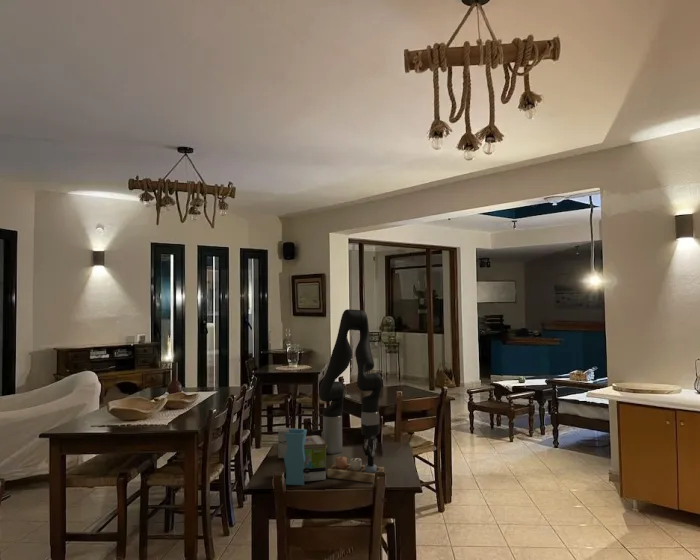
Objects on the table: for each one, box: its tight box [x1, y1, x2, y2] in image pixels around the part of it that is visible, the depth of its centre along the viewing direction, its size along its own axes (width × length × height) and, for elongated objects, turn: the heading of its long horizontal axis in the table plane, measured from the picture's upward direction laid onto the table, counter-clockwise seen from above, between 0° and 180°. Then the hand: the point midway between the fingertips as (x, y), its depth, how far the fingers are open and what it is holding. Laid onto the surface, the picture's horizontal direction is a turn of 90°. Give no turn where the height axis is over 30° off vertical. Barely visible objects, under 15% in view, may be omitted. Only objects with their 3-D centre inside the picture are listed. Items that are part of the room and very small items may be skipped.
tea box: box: [303, 435, 327, 482], centre depth 222 cm, size 15×10×15 cm
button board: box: [326, 462, 385, 484], centre depth 221 cm, size 21×11×3 cm, turn 69°
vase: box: [283, 428, 308, 486], centre depth 215 cm, size 8×8×20 cm
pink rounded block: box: [334, 456, 348, 470], centre depth 223 cm, size 5×5×4 cm
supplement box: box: [277, 427, 295, 459], centre depth 249 cm, size 7×7×13 cm
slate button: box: [364, 463, 377, 473], centre depth 218 cm, size 5×5×4 cm
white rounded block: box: [349, 457, 363, 471], centre depth 221 cm, size 5×5×4 cm
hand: (370, 464), depth 218 cm, fingers closed
